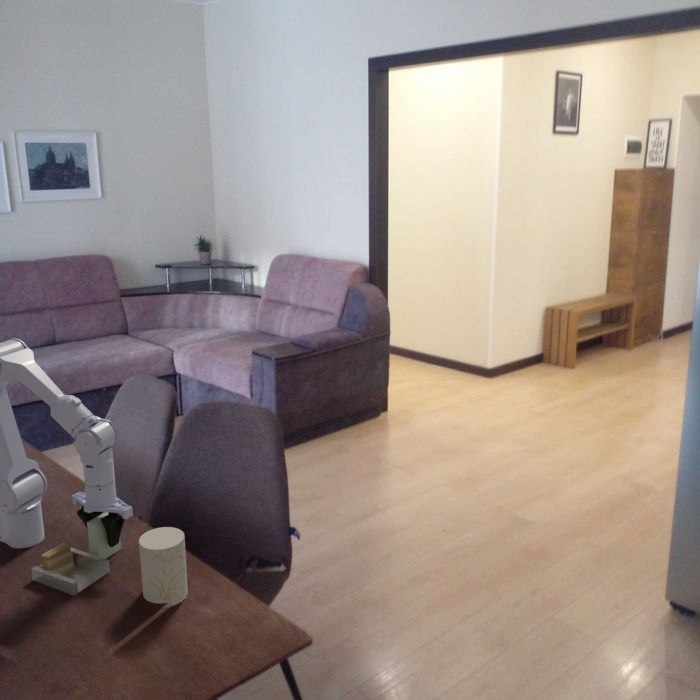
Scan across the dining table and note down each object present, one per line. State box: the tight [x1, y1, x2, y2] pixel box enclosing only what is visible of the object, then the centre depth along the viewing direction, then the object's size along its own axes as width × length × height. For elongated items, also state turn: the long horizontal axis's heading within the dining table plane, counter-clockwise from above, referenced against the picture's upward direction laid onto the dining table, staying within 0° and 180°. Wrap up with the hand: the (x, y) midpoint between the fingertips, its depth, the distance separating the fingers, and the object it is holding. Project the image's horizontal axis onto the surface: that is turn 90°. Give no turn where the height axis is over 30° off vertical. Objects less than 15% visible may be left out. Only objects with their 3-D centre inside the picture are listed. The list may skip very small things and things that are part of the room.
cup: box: [138, 526, 189, 609], centre depth 131 cm, size 8×8×12 cm
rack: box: [30, 546, 111, 596], centre depth 137 cm, size 11×9×4 cm
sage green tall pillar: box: [86, 512, 122, 560], centre depth 143 cm, size 2×6×9 cm, turn 153°
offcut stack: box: [38, 542, 74, 574], centre depth 138 cm, size 2×6×4 cm, turn 153°
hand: (105, 542), depth 144 cm, fingers open, 4 cm apart
